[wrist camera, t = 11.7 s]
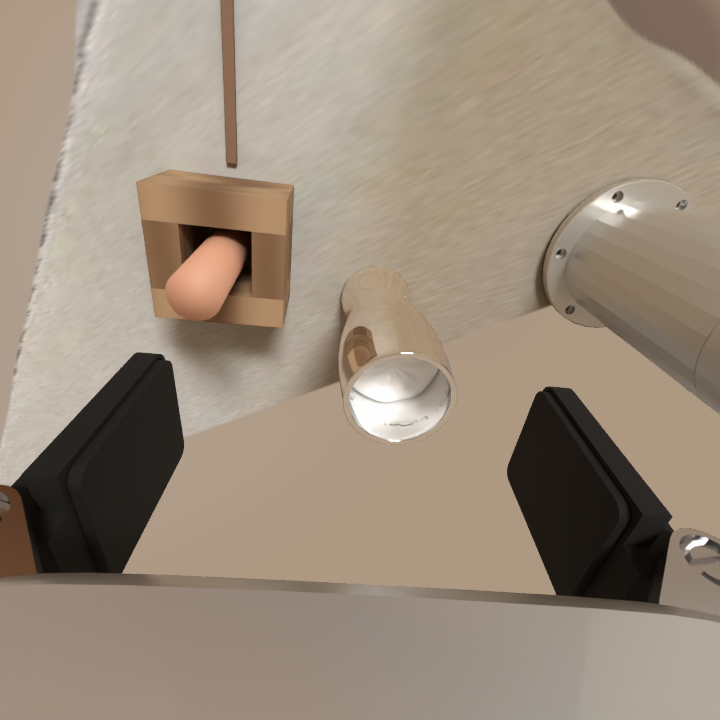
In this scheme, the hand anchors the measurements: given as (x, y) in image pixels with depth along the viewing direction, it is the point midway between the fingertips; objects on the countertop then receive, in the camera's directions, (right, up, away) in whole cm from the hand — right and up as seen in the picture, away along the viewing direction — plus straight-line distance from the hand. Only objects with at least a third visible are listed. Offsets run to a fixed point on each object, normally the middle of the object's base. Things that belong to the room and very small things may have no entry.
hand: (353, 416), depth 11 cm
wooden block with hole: (-10, +11, +22) cm, 27 cm away
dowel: (-10, +11, +22) cm, 27 cm away
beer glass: (+2, +7, +26) cm, 27 cm away
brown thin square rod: (-8, +20, +17) cm, 28 cm away
